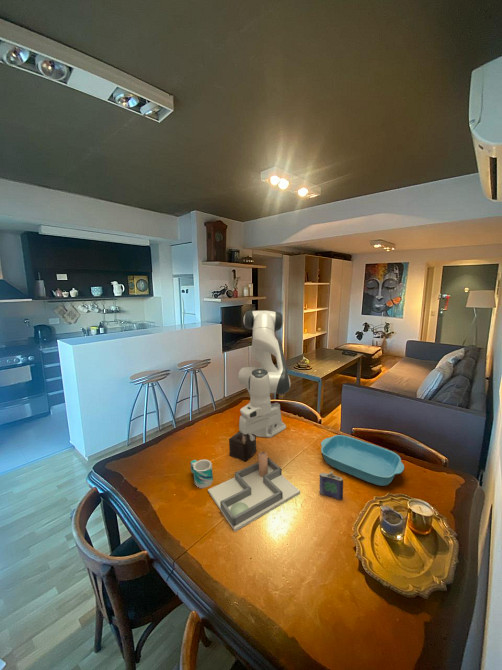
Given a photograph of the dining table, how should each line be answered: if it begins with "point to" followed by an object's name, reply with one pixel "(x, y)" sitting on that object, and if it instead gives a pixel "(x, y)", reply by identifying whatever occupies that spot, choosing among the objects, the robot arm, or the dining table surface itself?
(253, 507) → the channel
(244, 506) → the pad
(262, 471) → the peg
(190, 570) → the dining table surface
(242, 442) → the coffee grinder
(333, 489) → the flask
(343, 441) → the casserole dish
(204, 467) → the mug
